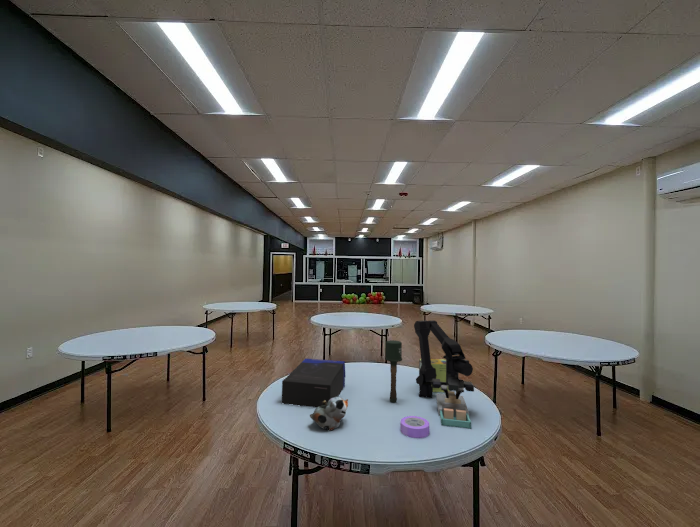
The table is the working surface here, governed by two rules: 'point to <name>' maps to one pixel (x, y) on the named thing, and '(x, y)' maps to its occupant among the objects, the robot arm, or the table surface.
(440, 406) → the board
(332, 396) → the headphone box
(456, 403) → the tan stepped block
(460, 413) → the tile
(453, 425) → the tray
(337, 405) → the lucky cat figurine
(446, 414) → the tile
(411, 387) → the table surface
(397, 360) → the potato masher grenade
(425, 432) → the masking tape
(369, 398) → the table surface
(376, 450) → the table surface
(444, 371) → the protein box
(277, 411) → the table surface
